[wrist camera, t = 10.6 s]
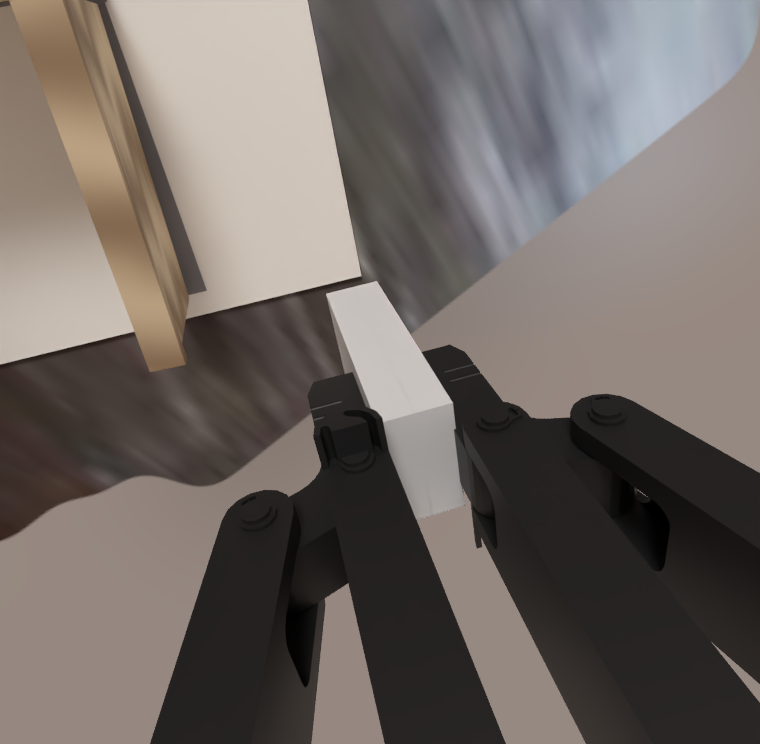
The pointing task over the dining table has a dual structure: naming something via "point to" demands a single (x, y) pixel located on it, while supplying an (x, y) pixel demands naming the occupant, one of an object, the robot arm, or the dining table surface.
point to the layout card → (176, 169)
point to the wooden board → (109, 167)
